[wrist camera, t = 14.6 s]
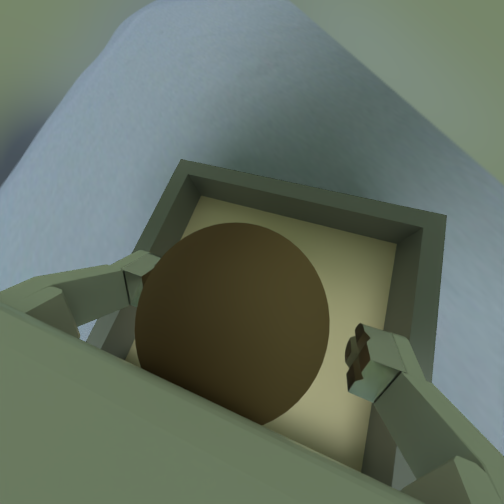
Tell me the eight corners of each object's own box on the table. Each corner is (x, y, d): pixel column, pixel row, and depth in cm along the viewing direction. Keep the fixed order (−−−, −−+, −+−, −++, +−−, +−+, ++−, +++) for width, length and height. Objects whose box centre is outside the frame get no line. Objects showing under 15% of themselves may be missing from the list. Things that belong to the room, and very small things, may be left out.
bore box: (381, 254, 17) (446, 215, 11) (342, 481, 13) (407, 645, 7) (211, 210, 21) (180, 159, 14) (137, 381, 16) (43, 423, 10)
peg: (298, 298, 16) (349, 249, 5) (282, 356, 15) (297, 477, 4) (245, 281, 17) (182, 205, 6) (226, 335, 16) (99, 376, 4)
